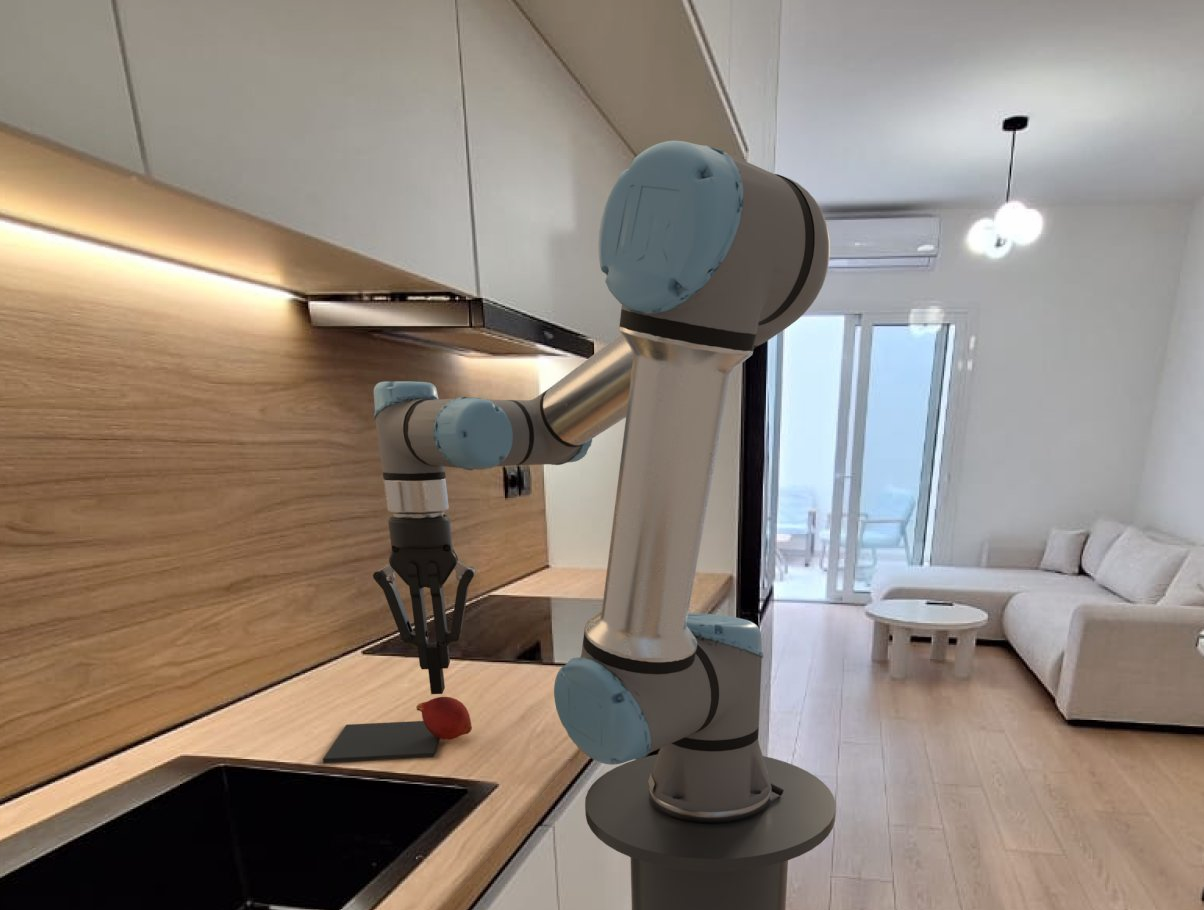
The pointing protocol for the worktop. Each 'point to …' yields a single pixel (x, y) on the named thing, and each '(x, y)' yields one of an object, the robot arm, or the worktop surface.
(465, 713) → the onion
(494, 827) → the worktop surface
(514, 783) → the worktop surface
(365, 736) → the mat
